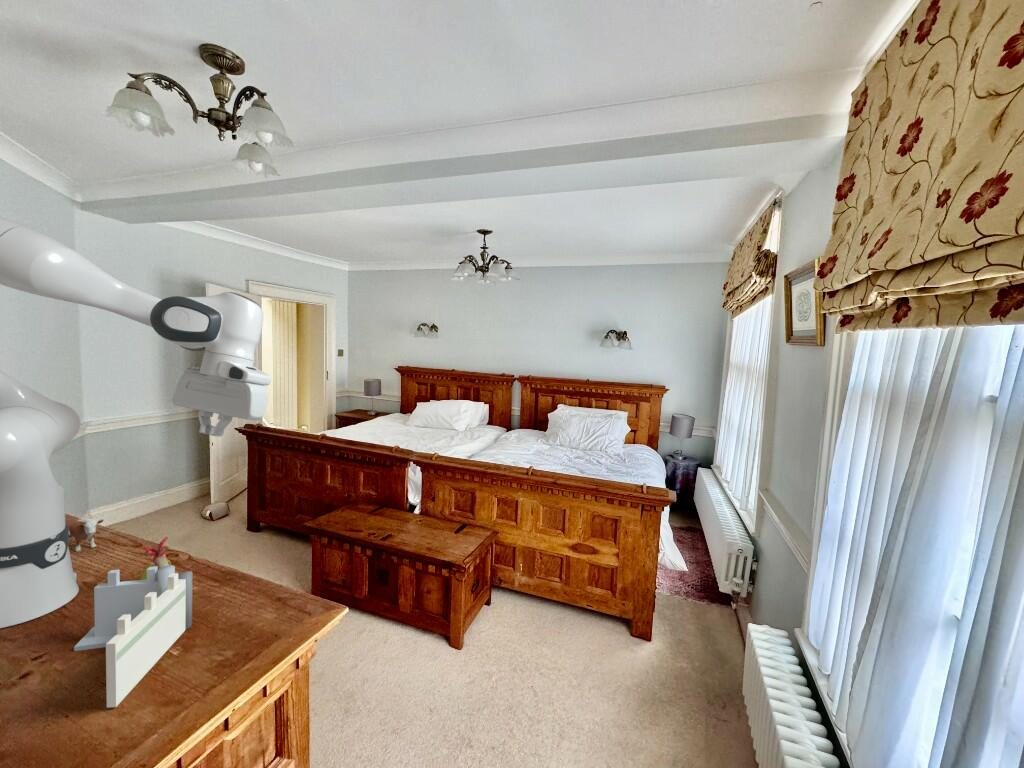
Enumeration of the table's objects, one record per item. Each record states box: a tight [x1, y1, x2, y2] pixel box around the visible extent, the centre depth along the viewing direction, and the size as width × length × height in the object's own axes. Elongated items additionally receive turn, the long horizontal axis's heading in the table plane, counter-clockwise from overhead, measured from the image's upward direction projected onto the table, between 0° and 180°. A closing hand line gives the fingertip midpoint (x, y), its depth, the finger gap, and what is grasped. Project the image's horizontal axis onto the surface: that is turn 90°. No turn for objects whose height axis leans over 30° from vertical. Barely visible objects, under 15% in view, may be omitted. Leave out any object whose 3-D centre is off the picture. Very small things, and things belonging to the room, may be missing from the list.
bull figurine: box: [65, 517, 105, 553], centre depth 98 cm, size 4×13×8 cm, turn 79°
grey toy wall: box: [73, 564, 176, 652], centre depth 72 cm, size 13×5×12 cm, turn 109°
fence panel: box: [105, 570, 193, 708], centre depth 67 cm, size 18×2×12 cm, turn 9°
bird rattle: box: [139, 536, 174, 580], centre depth 86 cm, size 6×11×9 cm
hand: (210, 434), depth 84 cm, fingers closed
